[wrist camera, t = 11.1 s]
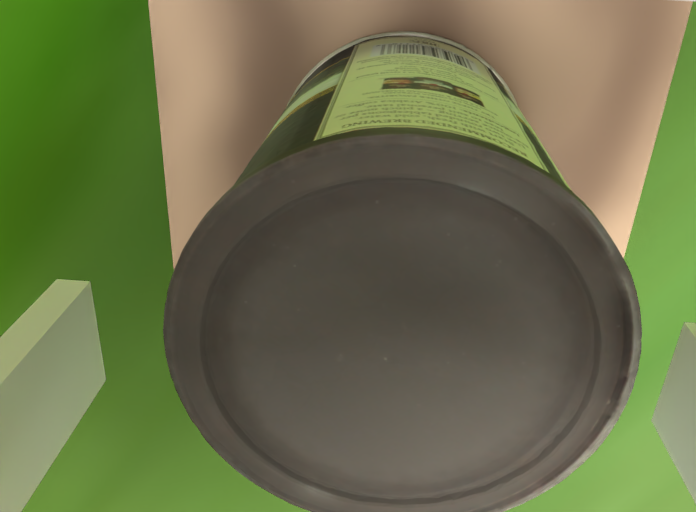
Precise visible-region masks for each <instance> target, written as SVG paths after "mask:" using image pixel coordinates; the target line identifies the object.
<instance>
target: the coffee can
mask: <svg viewBox="0 0 696 512" xmlns="http://www.w3.org/2000/svg"><path fill="white" fill-rule="evenodd" d="M163 334H164V345H165V353H166V358H167V363H168V367H169V371H170V375H171V378H172V380H173V382H174V386H175V389H176V391H177V393H178V395H179V397H180V399H181V401H182V403H183V405H184V407H185V409H186V411H187V413H188V415H189V416H190V418H191V420H192V422H193V423H194V424H195V425H196V426H197V428H198V429H199V431H200V432H201V434H202V435H203V437H204V438H205V440H206V441H207V442H208V443H209V444H210V445H211V447H212V448H213V449H214V450H215V451H216V452H217V453H218V454H219V455H220V456H221V457H222V458H223V459H224V460H225V461H227V462H228V463H229V464H230V465H231V466H232V467H233V468H234V469H235V470H236V471H238V472H239V473H241V474H242V475H243V476H245V477H246V478H247V479H249V480H250V481H252V482H253V483H255V484H256V485H258V486H259V487H261V488H263V489H264V490H266V491H268V492H270V493H271V494H273V495H275V496H277V497H279V498H281V499H283V500H285V501H286V502H288V503H290V504H292V505H295V506H298V507H300V508H303V509H306V510H308V511H311V512H503V511H506V510H509V509H511V508H514V507H516V506H519V505H521V504H523V503H525V502H527V501H529V500H531V499H533V498H535V497H537V496H539V495H540V494H542V493H544V492H546V491H547V490H549V489H550V488H552V487H553V486H555V485H557V484H558V483H560V482H561V481H563V480H564V479H565V478H567V477H568V476H569V475H570V474H571V473H572V472H573V471H575V470H576V469H577V468H578V467H579V466H581V465H582V464H583V463H584V462H585V461H586V460H587V459H588V458H589V457H590V456H591V455H592V454H593V453H594V452H595V451H596V450H597V449H598V448H599V446H600V445H601V444H602V443H603V441H604V440H605V439H606V437H607V436H608V435H609V433H610V432H611V430H612V428H613V427H614V425H615V424H616V422H617V421H618V419H619V417H620V415H621V413H622V411H623V410H624V408H625V406H626V404H627V402H628V399H629V397H630V394H631V392H632V389H633V386H634V382H635V378H636V375H637V371H638V367H639V360H640V354H641V337H642V327H641V314H640V307H639V302H638V297H637V292H636V289H635V285H634V282H633V279H632V276H631V273H630V271H629V269H628V266H627V265H626V263H625V261H624V259H623V257H622V255H621V253H620V252H619V250H618V248H617V246H616V245H615V243H614V242H613V240H612V238H611V237H610V235H609V234H608V232H607V231H606V229H605V228H604V227H603V225H602V224H601V222H600V221H599V220H598V218H597V217H596V216H595V214H594V213H593V212H592V211H591V209H590V208H589V207H588V206H587V205H586V204H585V203H584V202H583V201H582V200H581V199H580V198H579V197H578V196H577V195H576V194H575V193H574V192H573V191H572V190H571V189H570V187H569V186H568V184H567V182H566V181H565V179H564V178H563V176H562V175H561V173H560V172H559V170H558V169H557V167H556V165H555V164H554V162H553V161H552V159H551V157H550V156H549V154H548V153H547V151H546V149H545V148H544V146H543V145H542V143H541V142H540V140H539V138H538V137H537V135H536V133H535V132H534V130H533V129H532V127H531V126H530V124H529V123H528V122H527V120H526V119H525V117H524V116H523V114H522V113H521V111H520V109H519V108H518V105H517V102H516V100H515V98H514V96H513V94H512V92H511V91H510V89H509V87H508V86H507V84H506V83H505V81H504V80H503V79H502V77H501V76H500V75H499V74H498V73H497V72H496V70H495V69H494V68H493V67H492V66H491V65H489V64H488V63H487V62H486V61H485V60H484V59H483V58H481V57H480V56H479V55H478V54H476V53H475V52H473V51H471V50H470V49H468V48H467V47H465V46H464V45H462V44H458V43H456V42H454V41H451V40H449V39H446V38H443V37H440V36H436V35H431V34H427V33H420V32H405V31H398V32H385V33H380V34H375V35H371V36H368V37H362V38H359V39H357V40H354V41H352V42H350V43H348V44H347V45H345V46H343V47H340V48H339V49H337V50H335V51H334V52H332V53H331V54H329V55H328V56H327V57H325V58H324V59H323V60H321V61H320V62H319V63H318V64H317V65H316V66H315V67H314V68H313V69H312V70H311V71H310V72H309V73H308V74H307V75H306V76H305V77H304V79H303V80H302V81H301V83H300V84H299V85H298V87H297V88H296V90H295V91H294V93H293V95H292V97H291V98H290V100H289V102H288V104H287V106H286V109H285V110H284V111H283V113H282V115H281V116H280V118H279V119H278V121H277V122H276V123H275V125H274V126H273V128H272V130H271V131H270V133H269V134H268V136H267V137H266V139H265V140H264V142H263V143H262V145H261V146H260V148H259V149H258V150H257V152H256V153H255V155H254V156H253V157H252V159H251V160H250V162H249V163H248V165H247V166H246V168H245V170H244V171H243V172H242V174H241V175H240V177H239V178H238V180H237V181H236V183H235V184H234V185H233V186H232V187H231V188H230V189H229V190H228V191H227V192H226V193H225V194H224V195H223V196H222V197H221V198H220V199H219V200H218V201H217V202H216V203H215V205H214V206H213V207H212V208H211V209H210V210H209V211H208V212H207V213H206V215H205V216H204V217H203V219H202V220H201V221H200V223H199V224H198V226H197V227H196V229H195V230H194V232H193V233H192V235H191V237H190V238H189V240H188V241H187V243H186V245H185V246H184V248H183V250H182V252H181V255H180V257H179V259H178V262H177V264H176V266H175V269H174V272H173V275H172V278H171V281H170V284H169V288H168V292H167V299H166V303H165V311H164V326H163Z"/></svg>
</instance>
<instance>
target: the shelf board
mask: <svg viewBox="0 0 696 512" xmlns="http://www.w3.org/2000/svg"><path fill="white" fill-rule="evenodd" d="M693 1H694V2H696V0H148V4H149V15H150V25H151V36H152V46H153V57H154V67H155V78H156V89H157V99H158V110H159V120H160V131H161V141H162V152H163V163H164V173H165V184H166V194H167V205H168V216H169V226H170V237H171V247H172V258H173V268H174V269H175V266H176V264H177V262H178V259H179V257H180V255H181V252H182V250H183V248H184V246H185V245H186V243H187V241H188V240H189V238H190V237H191V235H192V233H193V232H194V230H195V229H196V227H197V226H198V224H199V223H200V221H201V220H202V219H203V217H204V216H205V215H206V213H207V212H208V211H209V210H210V209H211V208H212V207H213V206H214V205H215V203H216V202H217V201H218V200H219V199H220V198H221V197H222V196H223V195H224V194H225V193H226V192H227V191H228V190H229V189H230V188H231V187H232V186H233V185H234V184H235V183H236V181H237V180H238V178H239V177H240V175H241V174H242V172H243V171H244V170H245V168H246V166H247V165H248V163H249V162H250V160H251V159H252V157H253V156H254V155H255V153H256V152H257V150H258V149H259V148H260V146H261V145H262V143H263V142H264V140H265V139H266V137H267V136H268V134H269V133H270V131H271V130H272V128H273V126H274V125H275V123H276V122H277V121H278V119H279V118H280V116H281V115H282V113H283V111H284V110H285V109H286V106H287V104H288V102H289V100H290V98H291V97H292V95H293V93H294V91H295V90H296V88H297V87H298V85H299V84H300V83H301V81H302V80H303V79H304V77H305V76H306V75H307V74H308V73H309V72H310V71H311V70H312V69H313V68H314V67H315V66H316V65H317V64H318V63H319V62H320V61H321V60H323V59H324V58H325V57H327V56H328V55H329V54H331V53H332V52H334V51H335V50H337V49H339V48H340V47H343V46H345V45H347V44H348V43H350V42H352V41H354V40H357V39H359V38H362V37H368V36H371V35H375V34H380V33H385V32H398V31H405V32H420V33H427V34H431V35H436V36H440V37H443V38H446V39H449V40H451V41H454V42H456V43H458V44H462V45H464V46H465V47H467V48H468V49H470V50H471V51H473V52H475V53H476V54H478V55H479V56H480V57H481V58H483V59H484V60H485V61H486V62H487V63H488V64H489V65H491V66H492V67H493V68H494V69H495V70H496V72H497V73H498V74H499V75H500V76H501V77H502V79H503V80H504V81H505V83H506V84H507V86H508V87H509V89H510V91H511V92H512V94H513V96H514V98H515V100H516V102H517V105H518V108H519V109H520V111H521V113H522V114H523V116H524V117H525V119H526V120H527V122H528V123H529V124H530V126H531V127H532V129H533V130H534V132H535V133H536V135H537V137H538V138H539V140H540V142H541V143H542V145H543V146H544V148H545V149H546V151H547V153H548V154H549V156H550V157H551V159H552V161H553V162H554V164H555V165H556V167H557V169H558V170H559V172H560V173H561V175H562V176H563V178H564V179H565V181H566V182H567V184H568V186H569V187H570V189H571V190H572V191H573V192H574V193H575V194H576V195H577V196H578V197H579V198H580V199H581V200H582V201H583V202H584V203H585V204H586V205H587V206H588V207H589V208H590V209H591V211H592V212H593V213H594V214H595V216H596V217H597V218H598V220H599V221H600V222H601V224H602V225H603V227H604V228H605V229H606V231H607V232H608V234H609V235H610V237H611V238H612V240H613V242H614V243H615V245H616V246H617V248H618V250H619V252H620V253H621V255H622V257H623V259H624V255H625V251H626V247H627V244H628V240H629V236H630V233H631V229H632V225H633V222H634V218H635V214H636V210H637V207H638V203H639V199H640V196H641V192H642V188H643V185H644V181H645V177H646V173H647V170H648V166H649V162H650V159H651V155H652V151H653V148H654V144H655V140H656V136H657V133H658V129H659V125H660V122H661V118H662V114H663V110H664V107H665V103H666V99H667V96H668V92H669V88H670V85H671V81H672V77H673V73H674V70H675V66H676V62H677V59H678V55H679V51H680V48H681V44H682V40H683V36H684V33H685V29H686V25H687V22H688V18H689V14H690V11H691V7H692V3H693Z"/></svg>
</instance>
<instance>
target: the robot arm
mask: <svg viewBox="0 0 696 512" xmlns="http://www.w3.org/2000/svg"><path fill="white" fill-rule="evenodd" d="M105 381H106V376H105V370H104V363H103V357H102V351H101V345H100V339H99V332H98V326H97V320H96V314H95V308H94V301H93V295H92V289H91V283H90V281H77V280H63V279H56V280H55V282H54V283H53V284H52V285H51V286H50V287H49V288H48V289H47V290H46V291H45V292H44V293H43V294H42V295H41V296H40V297H39V298H38V299H37V300H36V301H35V302H34V303H33V304H32V305H31V306H30V307H29V308H28V309H27V310H26V311H25V312H24V313H23V314H22V315H21V316H20V317H19V318H18V319H17V321H16V322H15V323H14V324H13V325H12V326H11V327H10V328H9V329H8V330H7V331H6V332H5V333H4V334H3V335H2V336H1V337H0V512H21V511H22V510H23V508H24V507H25V505H26V504H27V502H28V501H29V499H30V497H31V496H32V494H33V493H34V491H35V490H36V488H37V487H38V485H39V483H40V482H41V480H42V479H43V477H44V476H45V474H46V473H47V471H48V470H49V468H50V466H51V465H52V463H53V462H54V460H55V459H56V457H57V456H58V454H59V452H60V451H61V449H62V448H63V446H64V445H65V443H66V442H67V440H68V438H69V437H70V435H71V434H72V432H73V431H74V429H75V428H76V426H77V424H78V423H79V421H80V420H81V418H82V417H83V415H84V414H85V412H86V410H87V409H88V407H89V406H90V404H91V403H92V401H93V400H94V398H95V396H96V395H97V393H98V392H99V390H100V389H101V387H102V386H103V384H104V382H105ZM651 421H652V423H653V425H654V426H655V428H656V430H657V432H658V434H659V436H660V438H661V440H662V441H663V443H664V445H665V447H666V449H667V451H668V453H669V455H670V457H671V458H672V460H673V462H674V464H675V466H676V468H677V470H678V472H679V473H680V475H681V477H682V479H683V481H684V483H685V485H686V487H687V489H688V490H689V492H690V494H691V496H692V498H693V500H694V502H695V504H696V323H687V322H684V324H683V327H682V330H681V333H680V336H679V339H678V342H677V345H676V348H675V351H674V354H673V357H672V360H671V363H670V366H669V369H668V372H667V375H666V378H665V381H664V384H663V387H662V390H661V393H660V396H659V399H658V402H657V405H656V408H655V411H654V414H653V417H652V420H651Z"/></svg>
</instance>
